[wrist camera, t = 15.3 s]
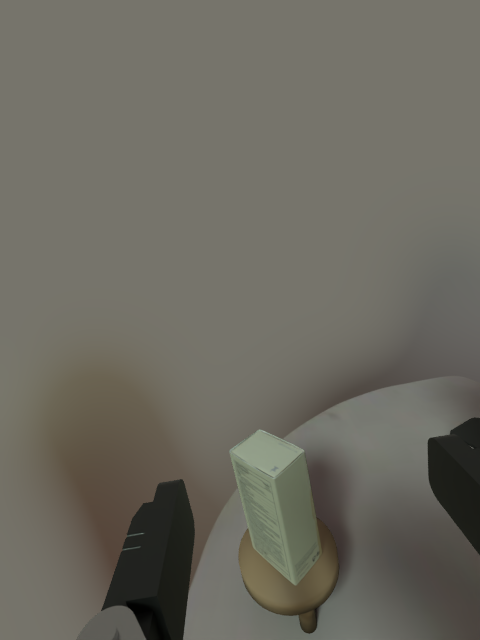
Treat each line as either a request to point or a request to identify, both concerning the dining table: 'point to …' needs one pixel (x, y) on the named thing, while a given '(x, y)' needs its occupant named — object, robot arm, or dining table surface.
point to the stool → (283, 594)
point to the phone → (469, 432)
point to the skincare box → (278, 503)
